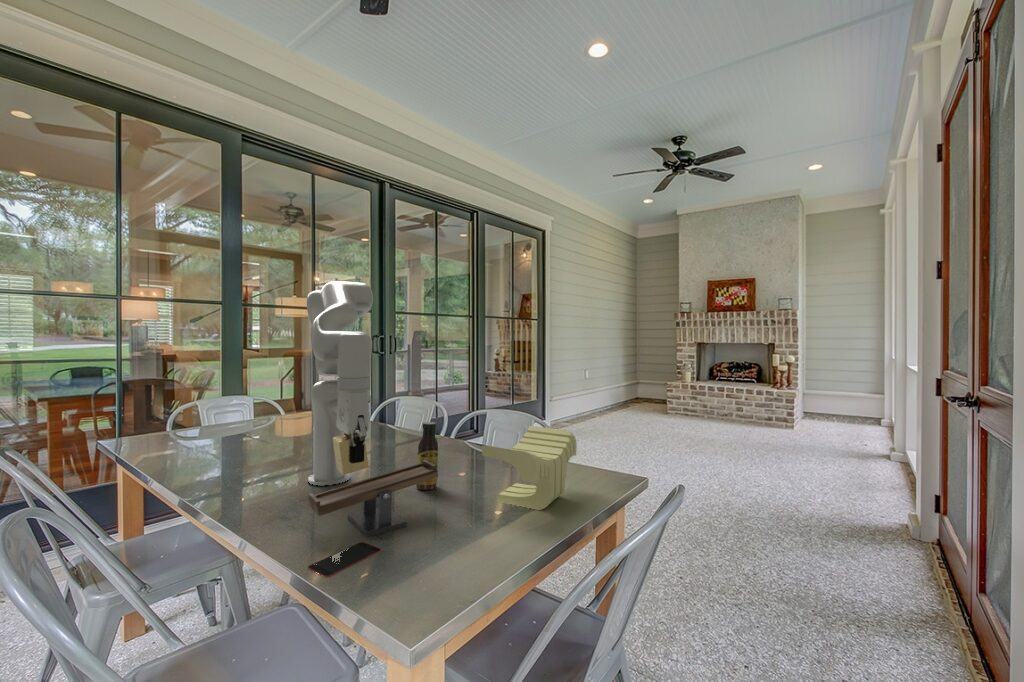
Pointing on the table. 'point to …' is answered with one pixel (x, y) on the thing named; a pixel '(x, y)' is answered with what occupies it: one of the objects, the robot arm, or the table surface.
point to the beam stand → (377, 516)
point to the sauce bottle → (428, 452)
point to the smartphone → (344, 559)
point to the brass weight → (347, 455)
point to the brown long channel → (371, 487)
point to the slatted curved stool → (536, 466)
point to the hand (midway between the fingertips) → (353, 458)
